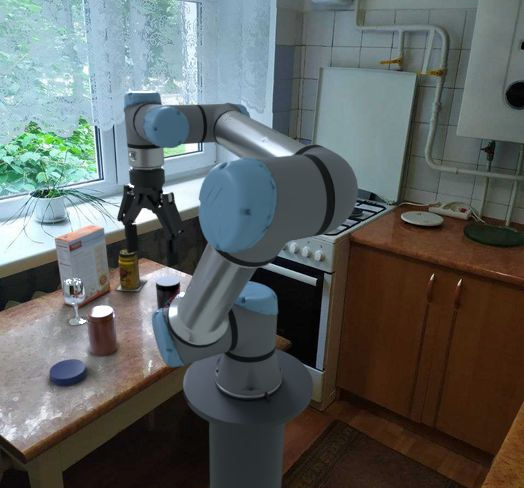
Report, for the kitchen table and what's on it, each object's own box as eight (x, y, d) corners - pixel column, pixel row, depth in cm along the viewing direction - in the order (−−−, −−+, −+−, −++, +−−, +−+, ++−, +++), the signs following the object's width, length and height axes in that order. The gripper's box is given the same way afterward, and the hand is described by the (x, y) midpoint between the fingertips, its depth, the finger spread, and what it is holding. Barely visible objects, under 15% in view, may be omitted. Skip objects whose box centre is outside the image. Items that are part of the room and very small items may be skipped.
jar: (122, 347, 125) (119, 310, 121) (100, 358, 120) (96, 320, 116) (107, 338, 129) (104, 302, 125) (84, 348, 124) (80, 311, 120)
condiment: (115, 290, 155) (112, 255, 151) (125, 279, 163) (122, 245, 159) (138, 292, 155) (136, 256, 150) (146, 280, 162) (144, 246, 158)
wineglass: (93, 318, 138) (88, 280, 134) (77, 328, 133) (73, 288, 129) (77, 314, 140) (72, 275, 136) (61, 323, 135) (56, 283, 131)
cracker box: (96, 286, 158) (90, 223, 150) (111, 290, 155) (105, 227, 147) (62, 303, 146) (53, 237, 138) (77, 308, 143) (69, 241, 136)
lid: (43, 376, 113) (42, 369, 113) (74, 361, 119) (73, 355, 118) (61, 390, 109) (60, 383, 108) (93, 374, 114) (92, 368, 114)
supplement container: (156, 319, 139) (155, 286, 135) (157, 308, 145) (156, 276, 141) (181, 318, 140) (180, 285, 136) (181, 307, 146) (180, 275, 142)
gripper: (96, 161, 111) (104, 250, 118) (174, 177, 97) (178, 276, 104) (123, 157, 116) (129, 242, 124) (201, 171, 103) (203, 266, 110)
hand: (152, 258), depth 114 cm, fingers open, 13 cm apart
